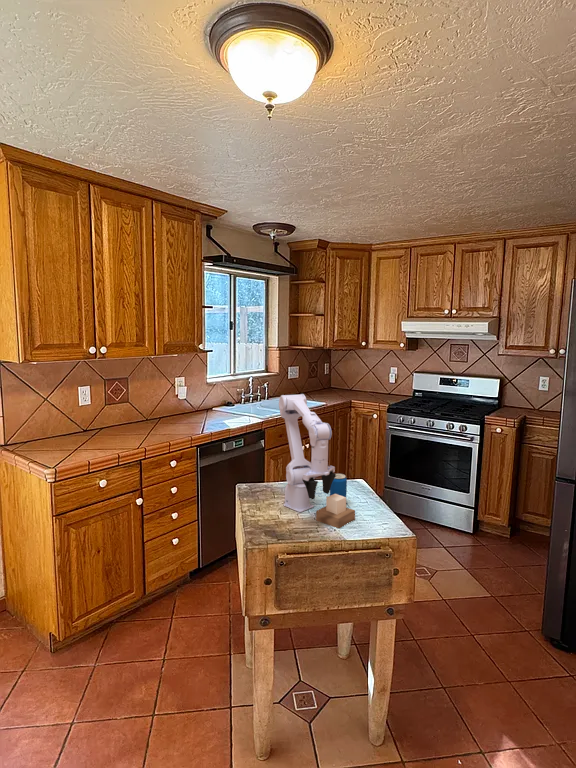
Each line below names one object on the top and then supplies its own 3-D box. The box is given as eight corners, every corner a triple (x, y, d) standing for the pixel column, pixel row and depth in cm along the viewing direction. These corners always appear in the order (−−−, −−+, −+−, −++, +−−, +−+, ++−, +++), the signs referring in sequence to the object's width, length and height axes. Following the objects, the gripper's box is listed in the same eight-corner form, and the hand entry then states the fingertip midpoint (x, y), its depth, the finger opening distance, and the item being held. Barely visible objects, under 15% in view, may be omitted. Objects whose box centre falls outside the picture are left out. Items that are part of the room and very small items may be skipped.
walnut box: (316, 521, 163) (316, 510, 163) (332, 513, 171) (332, 503, 170) (338, 529, 157) (338, 518, 156) (354, 520, 164) (355, 510, 164)
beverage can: (344, 502, 180) (345, 473, 179) (347, 508, 174) (348, 478, 172) (328, 502, 180) (329, 473, 179) (330, 508, 174) (331, 478, 172)
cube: (326, 510, 163) (326, 497, 163) (334, 506, 167) (335, 493, 166) (337, 514, 160) (337, 501, 159) (345, 510, 163) (346, 497, 163)
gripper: (314, 464, 149) (313, 504, 151) (341, 456, 159) (340, 493, 161) (298, 460, 154) (298, 498, 156) (326, 452, 165) (325, 488, 166)
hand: (318, 495), depth 159 cm, fingers open, 7 cm apart
